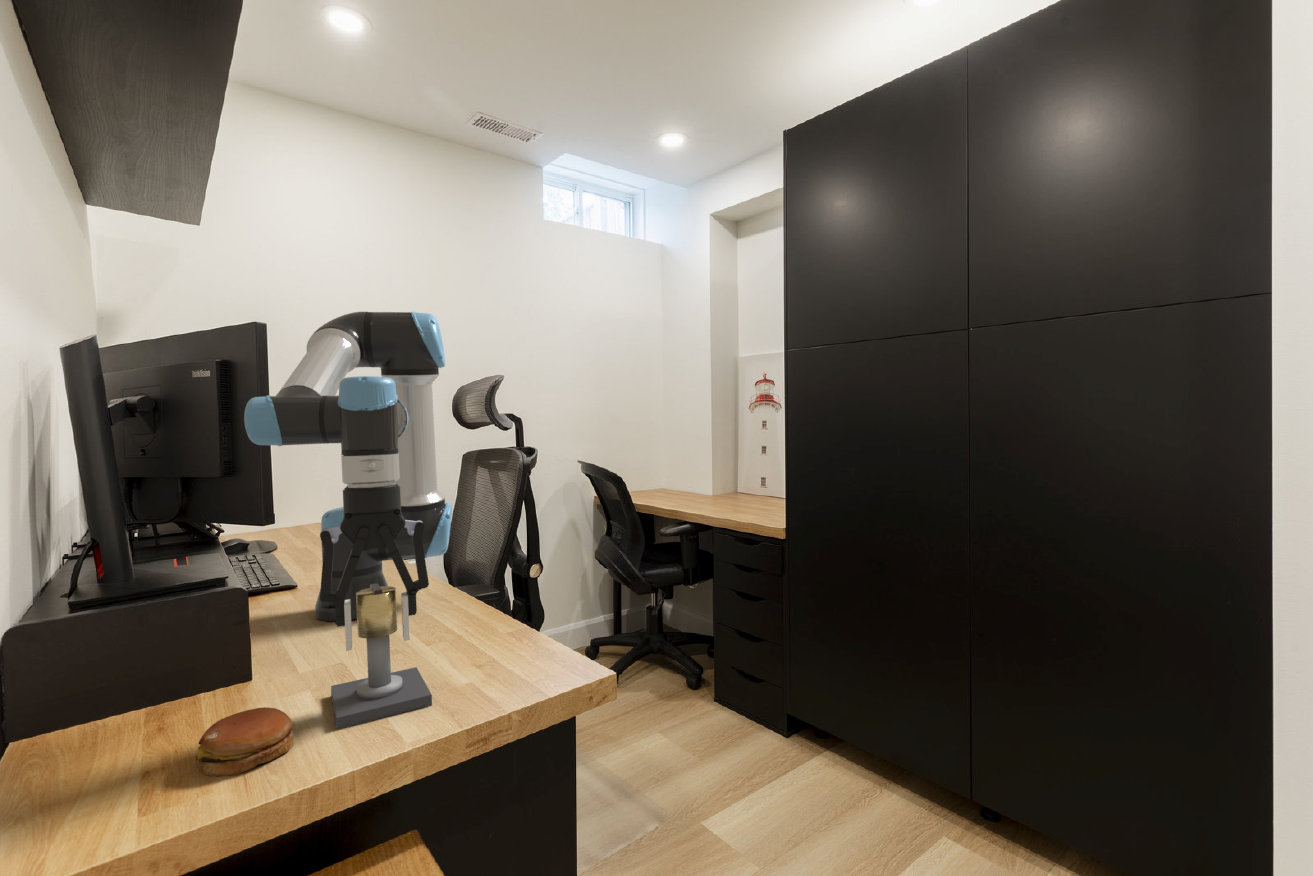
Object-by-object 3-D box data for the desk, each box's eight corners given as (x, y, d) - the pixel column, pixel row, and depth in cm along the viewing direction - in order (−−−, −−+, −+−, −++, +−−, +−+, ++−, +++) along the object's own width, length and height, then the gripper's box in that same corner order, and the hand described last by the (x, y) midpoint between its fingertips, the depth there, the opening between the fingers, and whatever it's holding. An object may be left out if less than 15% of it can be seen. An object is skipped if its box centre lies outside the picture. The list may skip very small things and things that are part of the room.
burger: (310, 739, 78) (308, 703, 78) (248, 781, 69) (246, 741, 69) (245, 734, 80) (243, 699, 80) (177, 774, 71) (174, 735, 71)
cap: (355, 631, 89) (353, 586, 89) (394, 623, 92) (392, 580, 92) (360, 641, 84) (358, 594, 84) (400, 633, 87) (398, 587, 87)
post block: (331, 696, 90) (328, 629, 90) (416, 676, 97) (414, 614, 96) (336, 729, 80) (333, 654, 80) (432, 705, 86) (429, 635, 86)
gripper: (289, 491, 80) (297, 665, 80) (447, 481, 89) (453, 637, 89) (294, 487, 87) (301, 647, 87) (440, 478, 95) (446, 623, 96)
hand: (378, 642), depth 88 cm, fingers open, 7 cm apart
